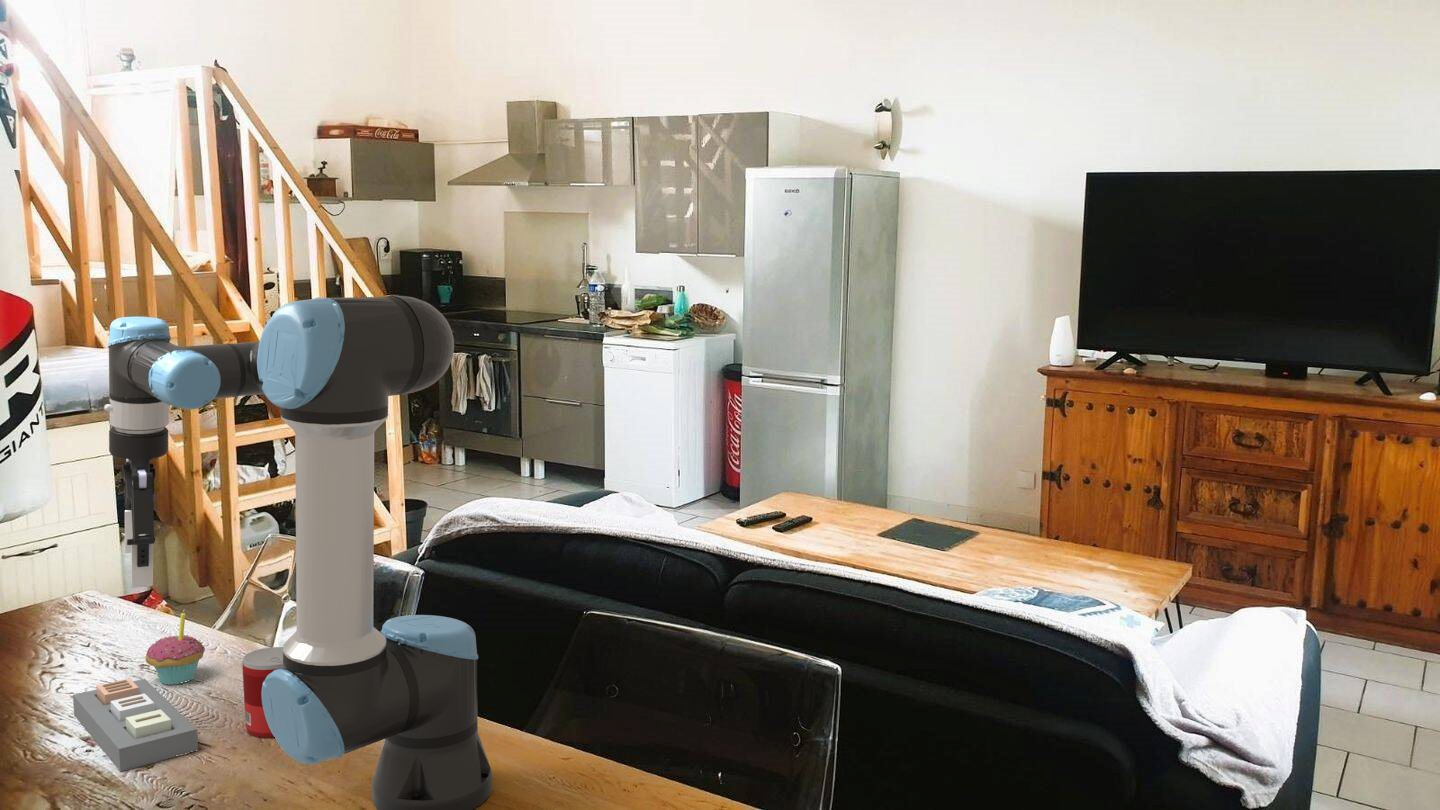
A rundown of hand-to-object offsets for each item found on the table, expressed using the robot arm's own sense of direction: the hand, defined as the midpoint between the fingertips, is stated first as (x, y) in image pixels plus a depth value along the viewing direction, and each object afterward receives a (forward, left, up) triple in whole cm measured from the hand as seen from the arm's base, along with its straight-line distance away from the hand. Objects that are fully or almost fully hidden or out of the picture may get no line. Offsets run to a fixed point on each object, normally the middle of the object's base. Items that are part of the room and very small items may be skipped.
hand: (138, 568), depth 170 cm
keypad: (-3, +3, -23) cm, 24 cm away
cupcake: (+14, -8, -23) cm, 28 cm away
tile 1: (-11, +3, -21) cm, 24 cm away
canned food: (-14, -13, -23) cm, 30 cm away
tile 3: (+4, +3, -21) cm, 21 cm away
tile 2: (-3, +3, -21) cm, 21 cm away
